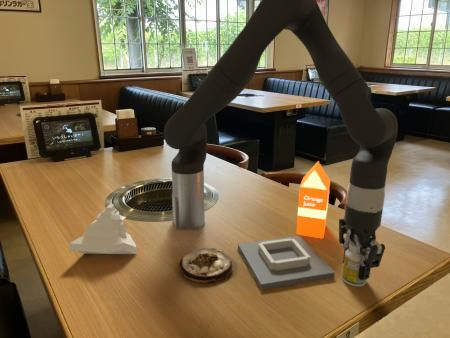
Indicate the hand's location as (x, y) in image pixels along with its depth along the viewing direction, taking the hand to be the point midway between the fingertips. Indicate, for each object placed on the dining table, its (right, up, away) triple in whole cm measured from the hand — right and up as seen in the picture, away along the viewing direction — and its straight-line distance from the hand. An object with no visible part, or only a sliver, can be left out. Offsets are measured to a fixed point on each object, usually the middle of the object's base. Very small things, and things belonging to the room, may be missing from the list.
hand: (355, 271), depth 84 cm
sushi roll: (-34, -1, +5) cm, 35 cm away
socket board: (-15, 0, +8) cm, 17 cm away
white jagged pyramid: (-60, +1, +12) cm, 61 cm away
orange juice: (-4, +5, +24) cm, 25 cm away
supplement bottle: (0, -3, +1) cm, 3 cm away
